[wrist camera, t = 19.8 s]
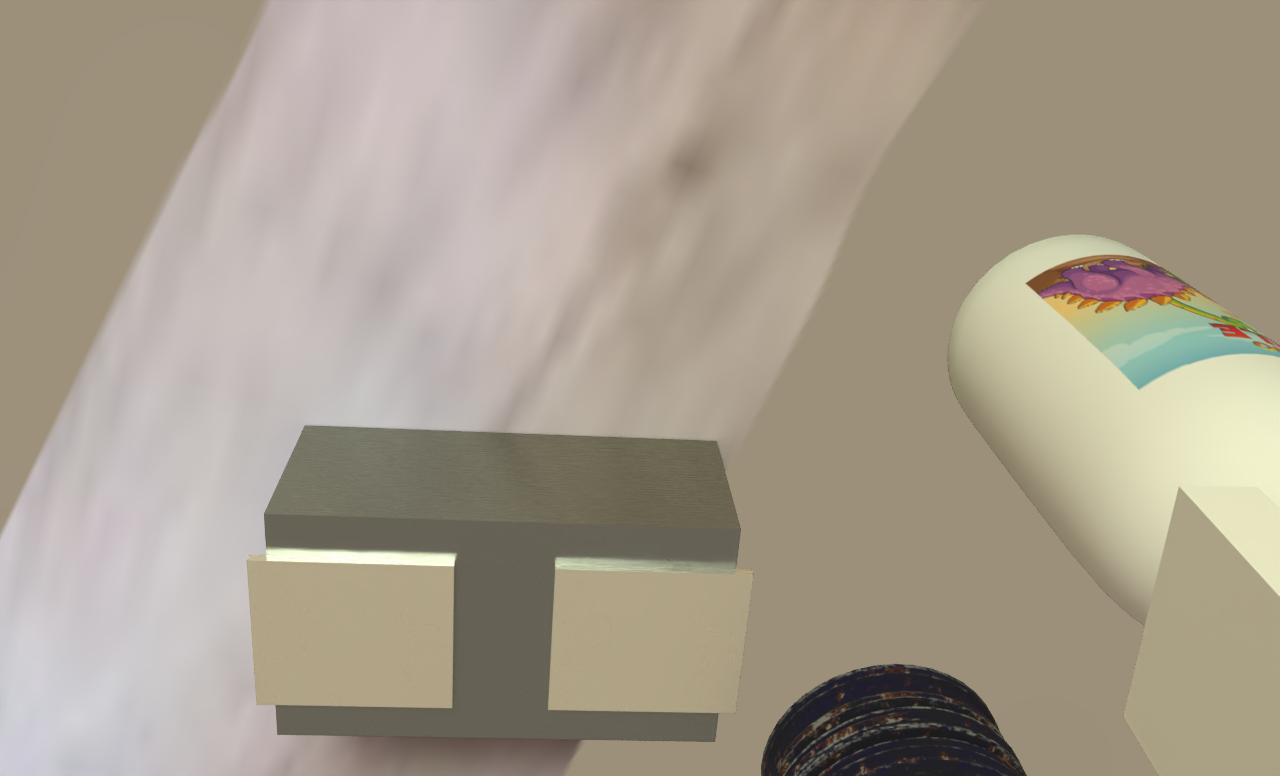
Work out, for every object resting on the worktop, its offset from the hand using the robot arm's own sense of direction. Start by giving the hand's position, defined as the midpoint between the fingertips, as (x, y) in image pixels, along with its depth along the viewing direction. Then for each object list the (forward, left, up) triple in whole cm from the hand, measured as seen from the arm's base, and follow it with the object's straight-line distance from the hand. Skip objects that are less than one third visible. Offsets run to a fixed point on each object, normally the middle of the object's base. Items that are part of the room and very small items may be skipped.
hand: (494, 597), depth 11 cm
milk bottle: (-18, +7, -27) cm, 33 cm away
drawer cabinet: (0, +15, -27) cm, 31 cm away
